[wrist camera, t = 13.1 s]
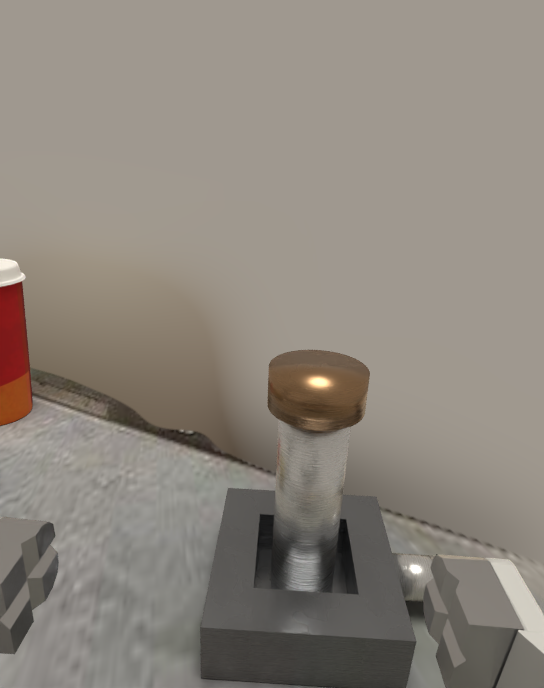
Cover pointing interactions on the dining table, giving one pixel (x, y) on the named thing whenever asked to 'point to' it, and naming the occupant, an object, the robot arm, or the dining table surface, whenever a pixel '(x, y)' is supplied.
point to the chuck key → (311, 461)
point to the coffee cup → (13, 346)
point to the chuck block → (310, 604)
